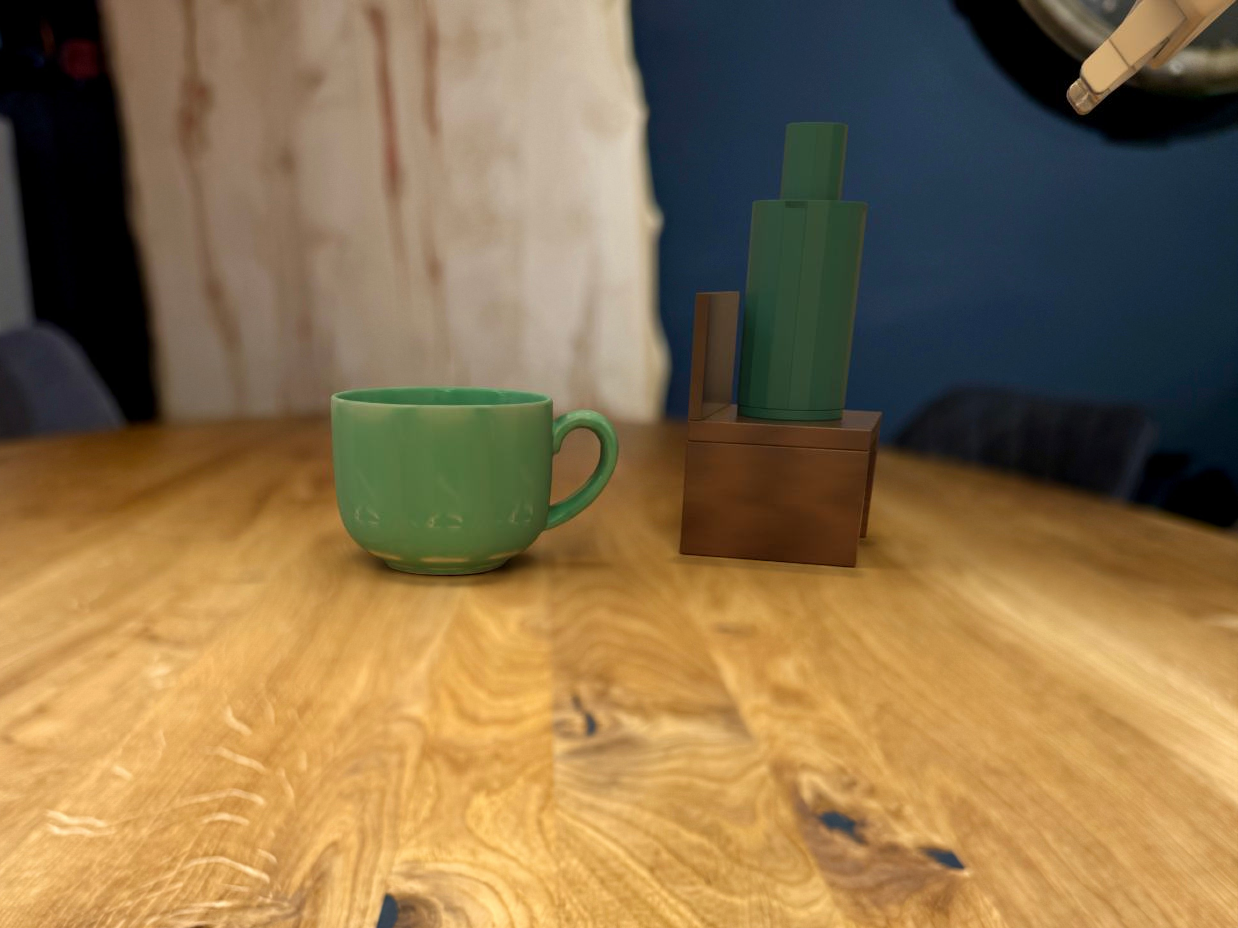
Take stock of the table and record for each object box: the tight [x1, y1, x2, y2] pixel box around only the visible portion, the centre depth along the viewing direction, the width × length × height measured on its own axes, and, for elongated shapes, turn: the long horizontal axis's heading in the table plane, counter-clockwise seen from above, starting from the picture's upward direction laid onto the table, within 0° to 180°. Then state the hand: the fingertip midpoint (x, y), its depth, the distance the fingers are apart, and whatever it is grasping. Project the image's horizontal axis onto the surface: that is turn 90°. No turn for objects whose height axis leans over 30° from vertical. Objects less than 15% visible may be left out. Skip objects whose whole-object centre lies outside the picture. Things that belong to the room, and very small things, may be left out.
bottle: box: [736, 121, 868, 421], centre depth 80 cm, size 7×7×16 cm
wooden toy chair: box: [679, 290, 883, 568], centre depth 84 cm, size 11×12×15 cm
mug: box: [330, 386, 620, 576], centre depth 76 cm, size 17×13×10 cm
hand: (1079, 94), depth 72 cm, fingers open, 8 cm apart
